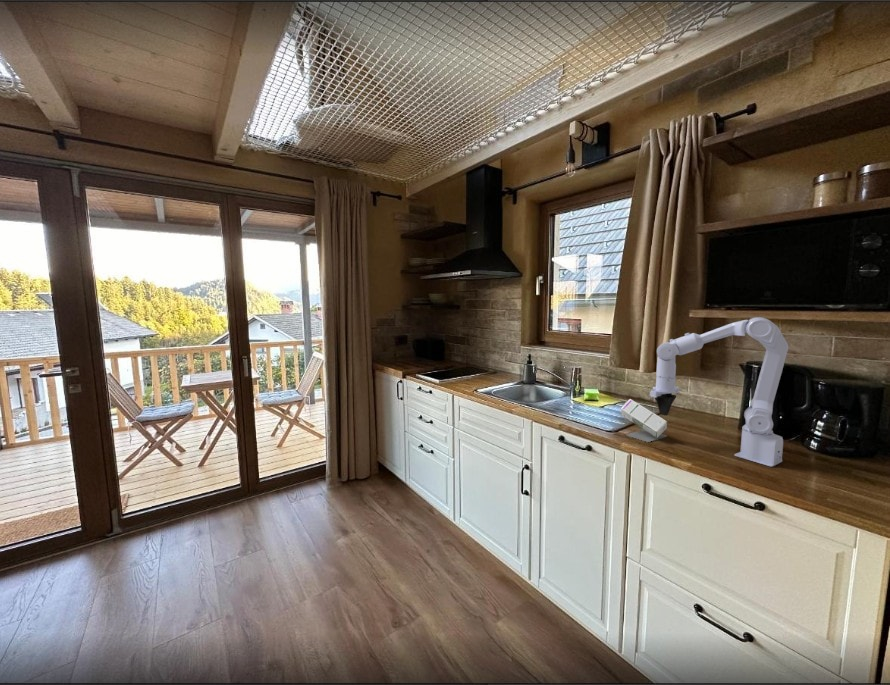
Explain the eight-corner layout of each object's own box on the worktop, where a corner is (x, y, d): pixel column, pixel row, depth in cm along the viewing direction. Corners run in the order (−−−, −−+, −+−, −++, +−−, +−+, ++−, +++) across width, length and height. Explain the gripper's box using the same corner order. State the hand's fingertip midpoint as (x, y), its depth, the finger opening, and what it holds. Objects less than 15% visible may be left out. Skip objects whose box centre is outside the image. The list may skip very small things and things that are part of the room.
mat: (667, 436, 132) (667, 435, 132) (648, 442, 126) (648, 441, 126) (645, 429, 140) (645, 428, 140) (625, 435, 134) (625, 434, 134)
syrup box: (667, 421, 126) (630, 397, 137) (656, 432, 126) (619, 408, 136) (667, 427, 130) (631, 404, 141) (656, 439, 129) (620, 415, 140)
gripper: (665, 372, 133) (663, 408, 134) (642, 377, 126) (640, 414, 127) (686, 375, 127) (684, 413, 128) (662, 380, 119) (660, 420, 121)
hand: (663, 414), depth 127 cm, fingers closed
